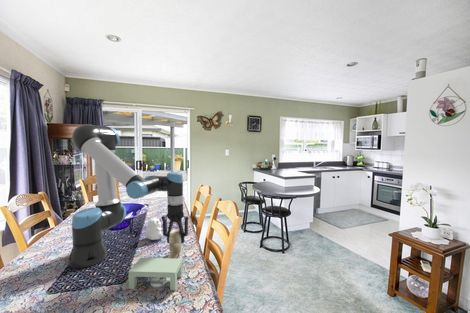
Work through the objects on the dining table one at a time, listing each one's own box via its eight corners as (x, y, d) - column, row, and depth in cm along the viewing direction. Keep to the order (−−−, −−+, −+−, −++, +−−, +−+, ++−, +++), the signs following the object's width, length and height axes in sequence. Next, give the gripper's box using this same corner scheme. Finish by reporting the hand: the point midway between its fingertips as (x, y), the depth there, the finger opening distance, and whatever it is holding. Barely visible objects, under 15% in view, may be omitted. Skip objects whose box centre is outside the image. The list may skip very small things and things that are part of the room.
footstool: (128, 288, 84) (128, 271, 83) (140, 273, 94) (140, 257, 93) (175, 290, 83) (175, 272, 83) (182, 274, 93) (182, 258, 93)
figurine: (145, 243, 121) (145, 222, 121) (144, 237, 130) (143, 217, 129) (164, 240, 126) (163, 219, 125) (161, 234, 135) (161, 214, 134)
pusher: (159, 270, 94) (159, 245, 94) (172, 250, 112) (172, 229, 112) (170, 270, 94) (169, 245, 94) (181, 250, 112) (181, 229, 112)
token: (148, 288, 85) (148, 284, 85) (154, 279, 91) (154, 275, 91) (163, 289, 85) (163, 285, 84) (168, 279, 91) (168, 275, 90)
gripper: (154, 205, 105) (155, 252, 107) (191, 205, 105) (191, 253, 106) (160, 201, 113) (161, 245, 114) (194, 201, 112) (194, 245, 114)
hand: (175, 249), depth 110 cm, fingers closed on pusher, 4 cm apart
